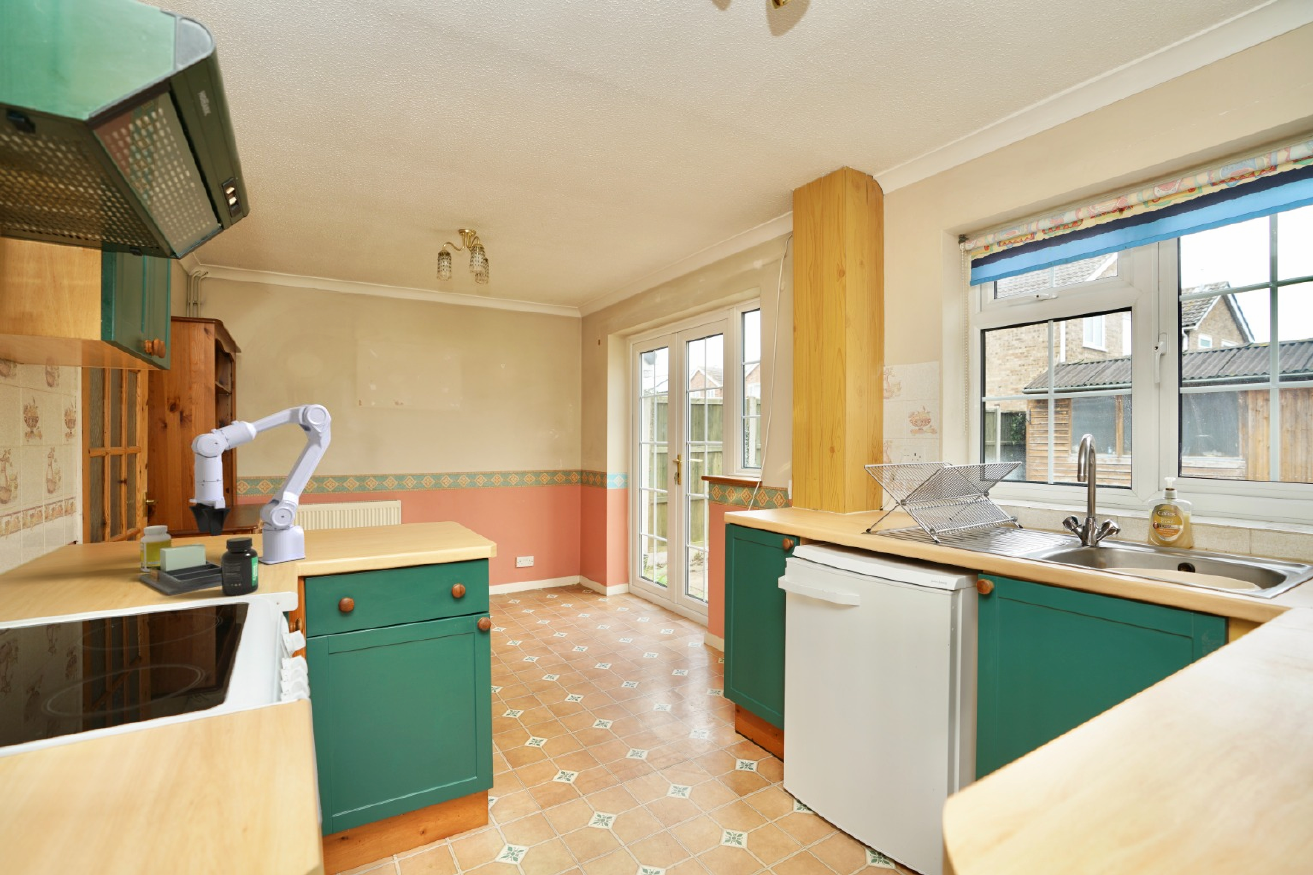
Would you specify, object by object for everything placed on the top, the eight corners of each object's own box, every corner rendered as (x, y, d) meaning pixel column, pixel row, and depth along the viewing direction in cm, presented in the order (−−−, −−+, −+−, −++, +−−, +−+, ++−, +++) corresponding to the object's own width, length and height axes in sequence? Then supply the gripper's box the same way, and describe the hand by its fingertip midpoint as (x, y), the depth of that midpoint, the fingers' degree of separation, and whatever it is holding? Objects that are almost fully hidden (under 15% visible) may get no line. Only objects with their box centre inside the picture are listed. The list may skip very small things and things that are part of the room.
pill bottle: (178, 566, 159) (177, 524, 159) (156, 572, 153) (155, 529, 152) (156, 566, 160) (155, 524, 159) (134, 572, 153) (133, 528, 153)
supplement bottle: (264, 590, 139) (263, 537, 138) (232, 597, 133) (230, 543, 132) (248, 585, 142) (247, 534, 141) (215, 593, 136) (214, 540, 135)
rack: (212, 566, 159) (212, 557, 159) (246, 580, 146) (246, 570, 146) (139, 579, 147) (138, 568, 147) (169, 595, 134) (169, 584, 134)
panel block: (199, 566, 155) (199, 543, 155) (205, 568, 153) (205, 545, 152) (160, 573, 149) (160, 548, 148) (166, 575, 146) (165, 551, 146)
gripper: (179, 480, 156) (181, 532, 156) (200, 484, 147) (202, 539, 148) (212, 477, 161) (213, 528, 162) (234, 481, 153) (235, 535, 153)
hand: (210, 533), depth 155 cm, fingers open, 7 cm apart
